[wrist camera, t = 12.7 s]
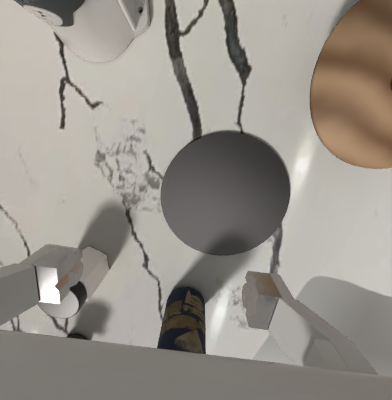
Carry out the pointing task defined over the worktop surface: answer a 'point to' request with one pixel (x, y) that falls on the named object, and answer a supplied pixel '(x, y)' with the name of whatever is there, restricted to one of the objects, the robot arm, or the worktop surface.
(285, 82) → the worktop surface
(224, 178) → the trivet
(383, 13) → the lid
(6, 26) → the worktop surface
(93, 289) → the jar
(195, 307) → the canister
